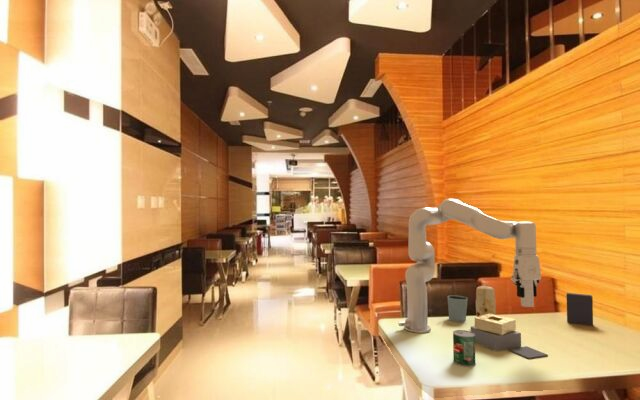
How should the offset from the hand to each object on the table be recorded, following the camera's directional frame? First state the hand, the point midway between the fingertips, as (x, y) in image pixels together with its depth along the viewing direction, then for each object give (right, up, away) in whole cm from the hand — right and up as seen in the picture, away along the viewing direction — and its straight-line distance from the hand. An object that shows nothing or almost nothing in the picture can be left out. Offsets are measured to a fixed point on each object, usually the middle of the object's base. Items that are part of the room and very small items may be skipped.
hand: (526, 296), depth 152 cm
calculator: (+50, -25, +41) cm, 70 cm away
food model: (-1, -25, +36) cm, 44 cm away
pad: (0, -23, -1) cm, 23 cm away
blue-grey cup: (-11, -25, +47) cm, 55 cm away
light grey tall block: (0, -4, 0) cm, 4 cm away
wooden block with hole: (-7, -17, +11) cm, 22 cm away
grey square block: (-8, -23, +10) cm, 27 cm away
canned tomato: (-30, -23, -10) cm, 39 cm away
